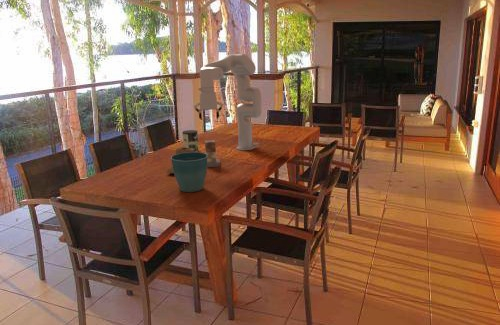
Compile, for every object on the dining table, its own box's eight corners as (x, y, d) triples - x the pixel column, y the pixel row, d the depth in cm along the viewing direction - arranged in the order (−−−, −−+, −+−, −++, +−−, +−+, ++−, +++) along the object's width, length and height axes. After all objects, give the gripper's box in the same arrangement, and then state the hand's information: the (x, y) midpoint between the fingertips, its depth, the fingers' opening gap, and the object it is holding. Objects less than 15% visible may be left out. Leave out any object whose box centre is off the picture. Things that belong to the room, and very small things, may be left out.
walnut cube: (215, 149, 268) (214, 140, 266) (215, 151, 262) (215, 142, 261) (205, 150, 267) (204, 140, 266) (205, 152, 261) (205, 142, 260)
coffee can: (200, 150, 307) (199, 130, 304) (195, 153, 298) (194, 132, 294) (186, 149, 309) (185, 129, 306) (181, 153, 300) (180, 132, 296)
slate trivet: (218, 162, 272) (218, 158, 272) (219, 166, 263) (219, 162, 262) (202, 163, 271) (202, 159, 270) (203, 167, 261) (202, 163, 261)
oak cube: (215, 159, 269) (214, 149, 268) (216, 161, 264) (215, 151, 262) (205, 159, 268) (205, 150, 267) (206, 162, 263) (205, 152, 261)
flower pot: (189, 197, 208) (187, 162, 204) (165, 190, 220) (163, 157, 216) (216, 188, 221) (215, 155, 217) (192, 181, 233) (191, 150, 229)
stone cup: (199, 171, 253) (197, 145, 250) (191, 176, 242) (189, 150, 239) (174, 169, 257) (173, 144, 254) (165, 175, 246) (164, 149, 243)
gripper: (192, 91, 251) (194, 120, 255) (223, 89, 253) (224, 119, 258) (192, 89, 258) (194, 118, 263) (221, 88, 260) (223, 117, 265)
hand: (209, 119), depth 260 cm, fingers open, 9 cm apart
